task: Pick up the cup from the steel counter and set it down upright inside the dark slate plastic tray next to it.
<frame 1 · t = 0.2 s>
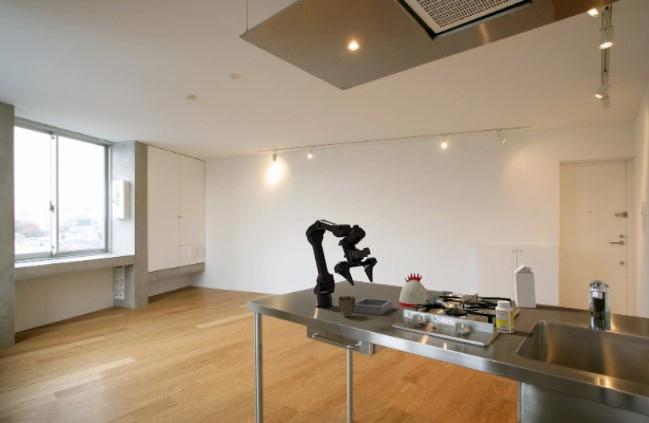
hand: (362, 283, 143), 15 cm above the counter, tool tilted 30°, fingers open, 9 cm apart
cup: (347, 316, 149), on the counter
tray: (372, 310, 158), on the counter
milk carton: (525, 306, 156), on the counter
supplement bottle: (505, 331, 122), on the counter
kitchen timer: (414, 304, 167), on the counter
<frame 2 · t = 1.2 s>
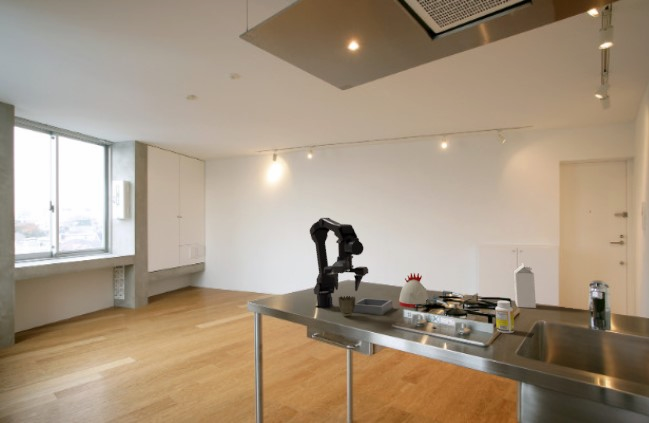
hand: (346, 290, 150), 11 cm above the counter, tool pointing down, fingers open, 9 cm apart
nothing on the counter moved.
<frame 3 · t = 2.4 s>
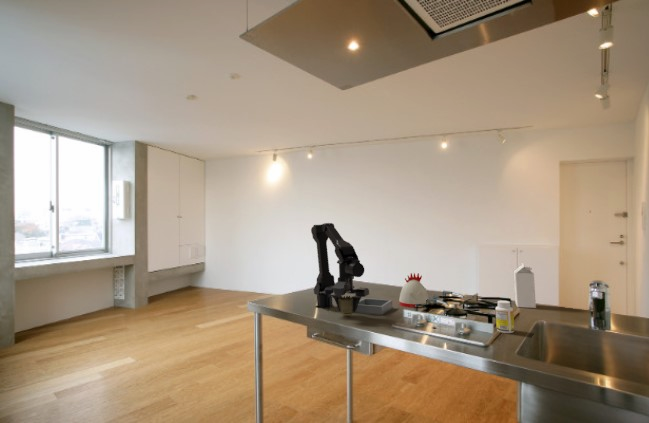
hand: (347, 311, 149), 2 cm above the counter, tool pointing down, fingers closed on cup, 6 cm apart
cup: (347, 316, 149), on the counter, touching gripper
everything else where it was.
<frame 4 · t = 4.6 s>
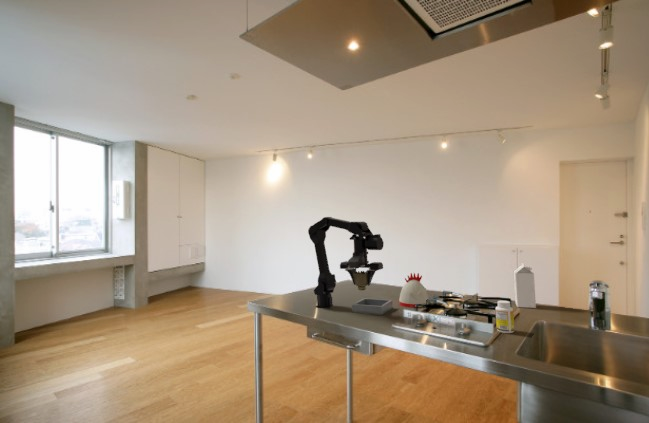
hand: (361, 285, 155), 12 cm above the counter, tool pointing down, fingers closed on cup, 6 cm apart
cup: (361, 290, 155), point 10 cm above the counter, touching gripper
everything else where it was.
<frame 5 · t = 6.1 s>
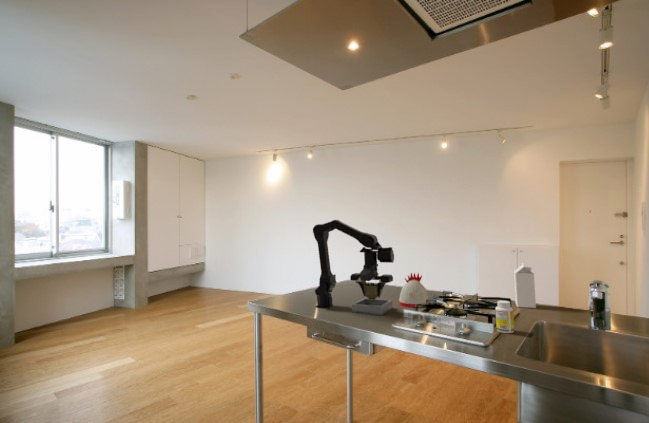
hand: (371, 296, 159), 6 cm above the counter, tool pointing down, fingers closed on cup, 6 cm apart
cup: (372, 301, 158), point 4 cm above the counter, touching gripper
everything else where it was.
when the fingers open (4 cm above the counter, at t = 7.0 s): cup drops 1 cm, resting on tray.
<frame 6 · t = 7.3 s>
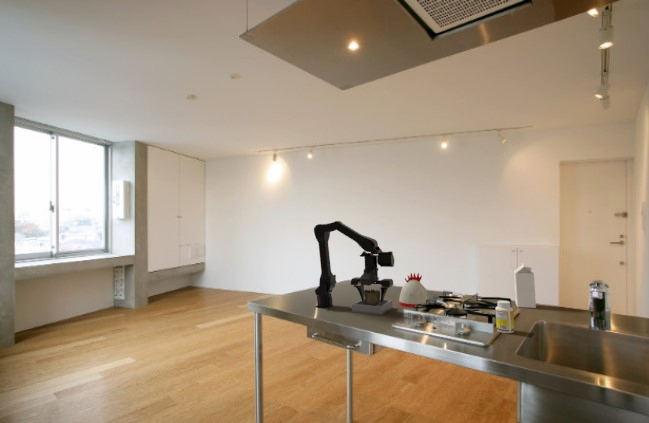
hand: (372, 301, 158), 4 cm above the counter, tool pointing down, fingers open, 9 cm apart
cup: (372, 308, 158), point 1 cm above the counter, touching tray
everything else where it was.
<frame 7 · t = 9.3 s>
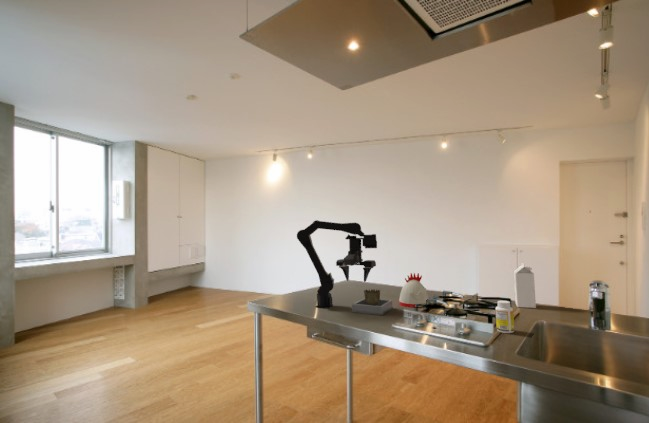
hand: (356, 281, 168), 12 cm above the counter, tool pointing down, fingers open, 9 cm apart
nothing on the counter moved.
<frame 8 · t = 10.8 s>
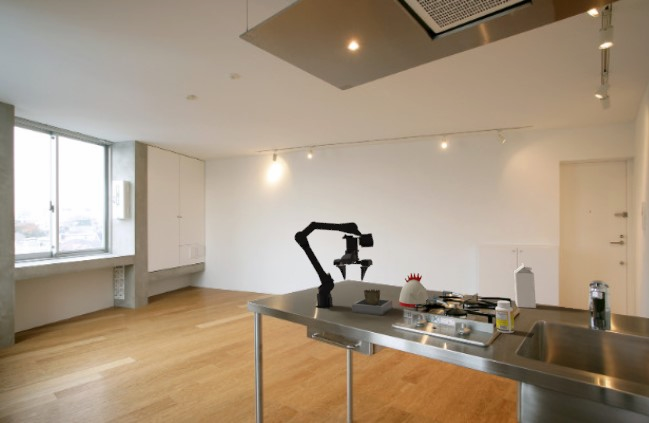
hand: (353, 280, 170), 12 cm above the counter, tool pointing down, fingers open, 9 cm apart
nothing on the counter moved.
at the end: cup inside the target area on the tray (0.0 cm from its centre), point 0.6 cm above the tray's base; cup tilted 0°; the gripper is holding nothing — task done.
